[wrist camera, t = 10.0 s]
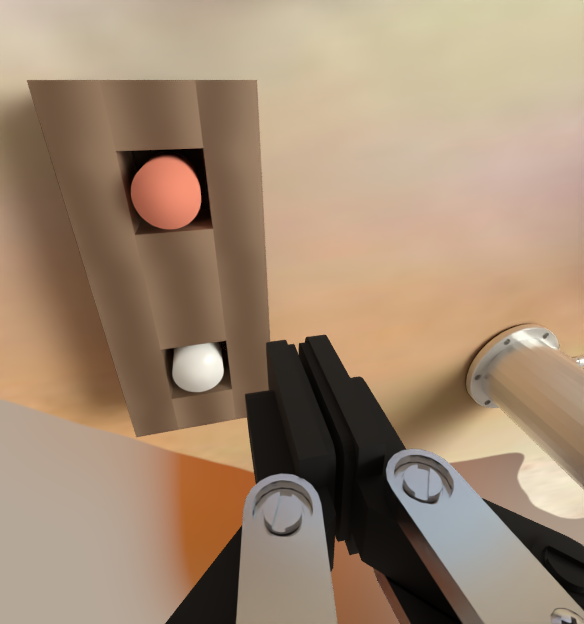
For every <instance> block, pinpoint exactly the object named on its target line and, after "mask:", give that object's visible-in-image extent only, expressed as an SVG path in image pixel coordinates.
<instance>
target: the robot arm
mask: <svg viewBox="0 0 584 624" xmlns="http://www.w3.org/2000/svg"><path fill="white" fill-rule="evenodd" d="M266 357H267V373H268V389H269V390H267V391H261V392H254V393H248V394H245V402H246V412H247V421H248V430H249V438H250V446H251V453H252V460H253V467H254V474H255V482H256V485H255V486H254V487H253V488H252V489H251V491H250V492H249V494H248V496H247V497H246V500H245V505H244V510H243V524H242V526H241V527H240V529H239V530H238V531H237V533H236V534H235V535H234V536H233V538H232V539H231V540H230V541H229V543H228V544H227V545H226V547H225V548H224V549H223V550H222V552H221V553H220V554H219V555H218V557H217V558H216V559H215V561H214V562H213V563H212V564H211V566H210V567H209V568H208V570H207V571H206V572H205V573H204V575H203V576H202V577H201V579H200V580H199V581H198V582H197V584H196V585H195V586H194V588H193V589H192V590H191V591H190V593H189V594H188V595H187V597H186V598H185V599H184V600H183V602H182V603H181V604H180V605H179V607H178V608H177V609H176V611H175V612H174V613H173V615H172V616H171V617H170V618H169V619H168V621H167V622H166V623H165V624H337V616H336V609H335V602H334V594H333V587H332V580H331V571H332V569H333V559H334V543H335V536H336V539H337V541H338V542H339V541H344V540H345V543H346V546H347V549H348V551H349V555H352V554H356V553H359V554H360V557H361V560H362V561H363V562H365V563H366V564H368V565H369V566H371V567H373V569H374V573H375V576H376V578H377V581H378V583H379V585H380V586H381V588H382V590H383V593H384V594H385V596H386V598H387V600H388V602H389V604H390V606H391V608H392V610H393V612H394V614H395V616H396V618H397V619H398V621H399V623H400V624H584V545H582V544H580V543H578V542H576V541H575V540H573V539H571V538H569V537H567V536H565V535H563V534H561V533H559V532H556V531H554V530H552V529H550V528H547V527H545V526H543V525H541V524H538V523H536V522H534V521H532V520H530V519H527V518H525V517H523V516H521V515H518V514H516V513H514V512H512V511H510V510H507V509H505V508H503V507H501V506H498V505H496V504H494V503H492V502H490V501H487V500H485V499H483V498H481V497H480V496H479V495H478V494H477V493H476V492H475V491H474V490H473V489H472V487H471V486H470V485H469V484H468V483H467V482H466V481H465V480H464V478H463V477H462V476H461V475H460V474H459V473H458V472H457V471H456V470H455V469H454V467H452V466H451V465H450V464H449V463H448V462H447V461H446V460H445V459H443V458H441V457H440V456H438V455H436V454H434V453H432V452H429V451H425V450H421V449H407V450H406V448H405V446H404V445H403V443H402V441H401V440H400V438H399V436H398V435H397V433H396V431H395V430H394V428H393V427H392V425H391V423H390V422H389V420H388V418H387V417H386V415H385V413H384V412H383V410H382V408H381V407H380V405H379V403H378V402H377V400H376V399H375V397H374V395H373V394H372V392H371V390H370V389H369V387H368V385H367V384H366V382H365V381H364V379H363V378H362V377H353V378H350V377H349V375H348V373H347V371H346V370H345V368H344V366H343V364H342V362H341V361H340V359H339V357H338V355H337V353H336V352H335V350H334V348H333V346H332V344H331V343H330V341H329V339H328V337H327V336H326V335H319V336H312V337H306V339H305V343H299V355H298V352H297V350H296V347H295V345H294V344H290V345H288V344H287V341H286V340H280V341H273V342H266ZM583 366H584V356H583V355H582V356H576V357H572V358H571V357H570V356H568V355H567V354H565V353H563V352H562V351H560V350H559V342H558V339H557V337H556V335H555V334H554V333H552V332H551V331H550V330H548V329H547V328H545V327H543V326H540V325H537V324H525V325H520V326H516V327H513V328H511V329H509V330H506V331H504V332H502V333H501V334H499V335H498V336H496V337H495V338H493V339H492V340H491V341H490V342H489V343H487V344H486V345H485V346H484V347H483V348H482V350H481V351H480V352H479V353H478V354H477V356H476V357H475V359H474V360H473V362H472V364H471V366H470V368H469V371H468V374H467V380H466V386H467V391H468V393H469V395H470V396H471V397H472V398H473V400H474V401H475V402H477V403H478V404H479V405H481V406H483V407H488V408H500V409H501V410H502V411H503V412H504V413H505V414H506V415H507V416H508V417H509V418H511V419H512V420H513V421H514V422H515V423H516V424H517V425H518V426H519V427H520V428H521V429H522V430H523V431H524V432H525V433H526V434H527V435H528V436H529V437H530V438H531V439H532V440H533V441H534V442H535V443H536V444H537V445H538V446H539V447H540V448H541V449H542V450H544V451H545V452H546V453H547V454H548V455H549V456H550V457H551V458H552V459H553V460H554V461H555V462H556V463H557V464H558V465H559V466H560V467H561V468H562V469H563V470H564V471H565V472H566V473H567V474H568V475H569V476H570V477H571V478H572V479H573V480H574V481H575V482H576V483H578V484H579V485H580V486H581V487H582V488H583V489H584V368H582V367H583Z"/></svg>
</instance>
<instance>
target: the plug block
mask: <svg viewBox="0 0 584 624" xmlns="http://www.w3.org/2000/svg"><path fill="white" fill-rule="evenodd" d="M27 82H28V86H29V89H30V92H31V95H32V99H33V102H34V105H35V108H36V112H37V115H38V118H39V121H40V125H41V128H42V131H43V134H44V138H45V141H46V144H47V147H48V151H49V154H50V157H51V160H52V164H53V167H54V170H55V173H56V177H57V180H58V183H59V186H60V190H61V193H62V196H63V199H64V203H65V206H66V209H67V212H68V216H69V219H70V222H71V226H72V229H73V232H74V235H75V239H76V242H77V245H78V248H79V252H80V255H81V258H82V261H83V265H84V268H85V271H86V274H87V278H88V281H89V284H90V287H91V291H92V294H93V297H94V300H95V304H96V307H97V310H98V313H99V317H100V320H101V323H102V326H103V330H104V333H105V336H106V339H107V343H108V346H109V349H110V352H111V356H112V359H113V362H114V365H115V369H116V372H117V375H118V378H119V382H120V385H121V388H122V391H123V395H124V398H125V401H126V405H127V408H128V411H129V414H130V418H131V421H132V424H133V427H134V431H135V434H136V437H140V436H146V435H151V434H157V433H162V432H168V431H174V430H179V429H185V428H190V427H196V426H201V425H207V424H212V423H218V422H223V421H229V420H235V419H240V418H246V417H247V412H246V402H245V394H248V393H254V392H261V391H267V390H269V389H268V373H267V357H266V342H270V329H269V309H268V289H267V270H266V250H265V230H264V210H263V191H262V171H261V151H260V132H259V112H258V92H257V80H27ZM191 148H202V152H203V160H204V168H205V176H206V185H207V193H208V201H209V209H199V211H198V213H197V215H196V217H195V218H194V219H193V220H192V221H191V222H190V223H189V224H187V225H186V226H183V227H181V228H178V229H162V228H158V227H155V226H153V225H151V224H150V223H148V222H147V221H145V220H144V219H143V218H142V217H141V216H140V215H139V213H138V212H137V210H136V209H135V207H134V204H133V202H132V198H131V185H132V181H133V179H134V177H135V175H136V174H137V173H136V168H135V163H134V158H133V154H132V151H136V150H163V149H191ZM220 341H225V342H226V351H221V353H222V361H223V369H224V372H223V377H222V379H221V381H220V382H219V383H218V384H217V385H216V386H215V387H213V388H211V389H209V390H207V391H203V392H190V391H186V390H184V389H182V388H180V387H179V386H178V385H177V384H176V383H175V381H174V379H173V375H172V371H173V358H174V352H173V348H177V347H184V346H191V345H198V344H206V343H213V342H220Z"/></svg>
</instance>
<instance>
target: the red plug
mask: <svg viewBox="0 0 584 624" xmlns="http://www.w3.org/2000/svg"><path fill="white" fill-rule="evenodd" d="M131 198H132V202H133V204H134V207H135V209H136V210H137V212H138V213H139V215H140V216H141V217H142V218H143V219H144V220H145V221H147V222H148V223H150V224H151V225H153V226H155V227H158V228H162V229H178V228H181V227H183V226H186V225H187V224H189V223H190V222H191V221H192V220H193V219H194V218H195V217H196V215H197V213H198V211H199V209H200V205H201V192H200V182H199V176H198V173H197V171H196V169H195V167H194V166H193V164H192V163H191V162H190V161H189V160H188V159H187V158H185V157H184V156H182V155H180V154H178V153H175V152H161V153H157V154H155V155H153V156H152V157H151V158H150V159H149V160H148V161H147V162H146V163H145V164H144V165H143V166H142V168H141V169H140V170H139V171H138V172H137V174H136V175H135V177H134V179H133V181H132V185H131Z"/></svg>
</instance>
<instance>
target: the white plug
mask: <svg viewBox="0 0 584 624" xmlns="http://www.w3.org/2000/svg"><path fill="white" fill-rule="evenodd" d="M223 372H224V369H223V361H222V353H221V344H220V342H213V343H206V344H198V345H191V346H184V347H177V348H174V358H173V371H172V375H173V379H174V381H175V383H176V384H177V385H178V386H179V387H180V388H182V389H184V390H186V391H190V392H203V391H207V390H209V389H211V388H213V387H215V386H216V385H217V384H218V383H219V382H220V381H221V379H222V377H223Z"/></svg>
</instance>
